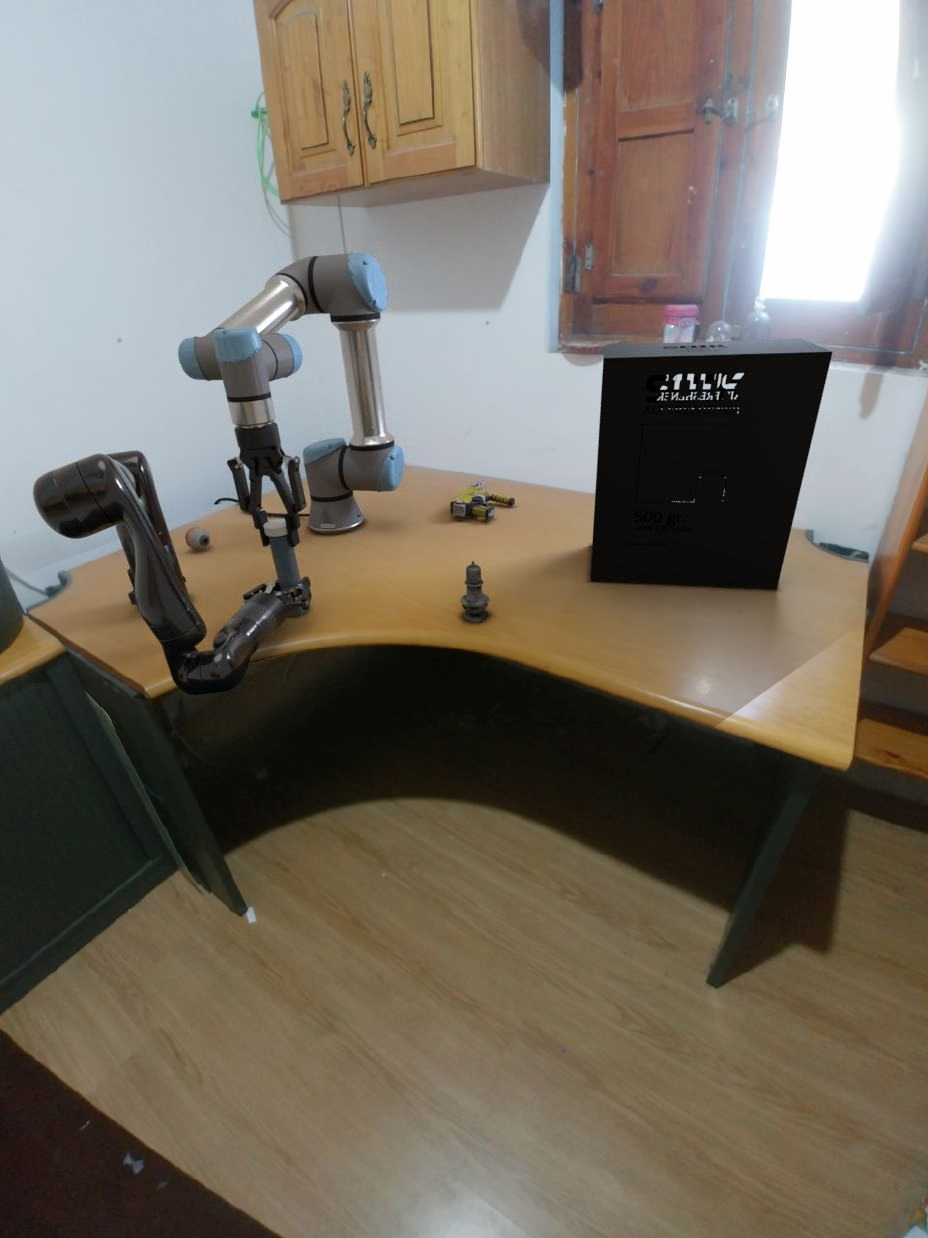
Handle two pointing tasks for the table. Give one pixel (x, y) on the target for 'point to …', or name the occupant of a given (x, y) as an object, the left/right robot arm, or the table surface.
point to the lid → (275, 528)
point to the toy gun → (477, 502)
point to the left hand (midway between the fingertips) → (296, 580)
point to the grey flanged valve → (474, 595)
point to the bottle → (285, 566)
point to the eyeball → (197, 538)
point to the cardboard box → (703, 460)
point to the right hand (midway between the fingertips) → (281, 544)
